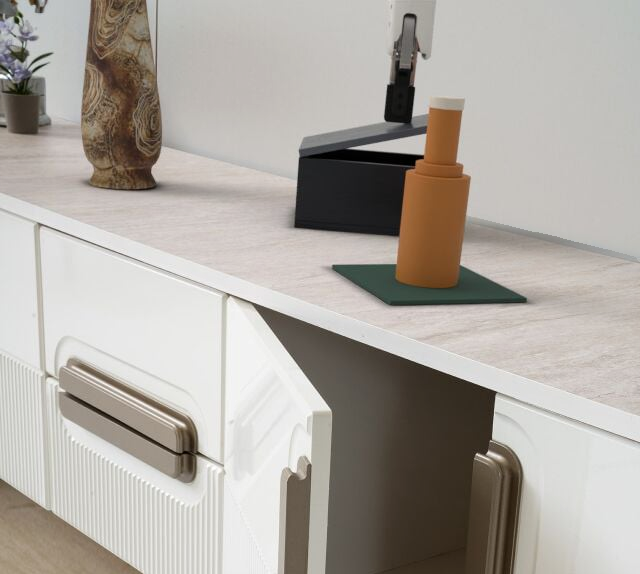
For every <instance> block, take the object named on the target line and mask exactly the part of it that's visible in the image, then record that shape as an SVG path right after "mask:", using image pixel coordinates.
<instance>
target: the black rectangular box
mask: <svg viewBox="0 0 640 574" xmlns="http://www.w3.org/2000/svg"><path fill="white" fill-rule="evenodd" d="M421 159H424V154H419V153H407V152H395V151H382V150H372V149H360V148H359V149H358V148H347V149H341V150H336V151H330V152H325V153H320V154H314V155H309V156H304V157H300V156H298V163H297V177H296V178H297V179H296V180H297V181H296V182H297V183H296V193H295V194H296V195H295V209H294V222H293V223H294V224H293V226H294V228H299V229H313V230H324V231H334V232H335V231H336V232H348V233H359V234H372V235H385V236H395V237H399V236H400V226H401V216H402V207H403V197H404V187H405V178H406V171H407V170H410V169H415V165H416V161H417V160H421Z"/></svg>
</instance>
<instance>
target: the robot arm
mask: <svg viewBox="0 0 640 574" xmlns="http://www.w3.org/2000/svg"><path fill="white" fill-rule="evenodd" d="M436 6H437V0H387V5H386V23H385V46H386V54H388V55H389V56H390V59H391V61H390V71H389V82H388V83H387V84H386V92H385V101H384V102H385V104H384V111H383V112H384V114H383V119H384V122H394V123H405V124H409V123H411V122H412V117H413V113H414V105H415V96H416V95H415V94H416V86H415V80H416V69H417V64H418V54H419V53H420V54H421V58H422V59H423V60H424V61H427V60H429V59H431V57H432V49H433V48H432V47H433V37H434V26H435V18H436V8H437V7H436Z"/></svg>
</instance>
